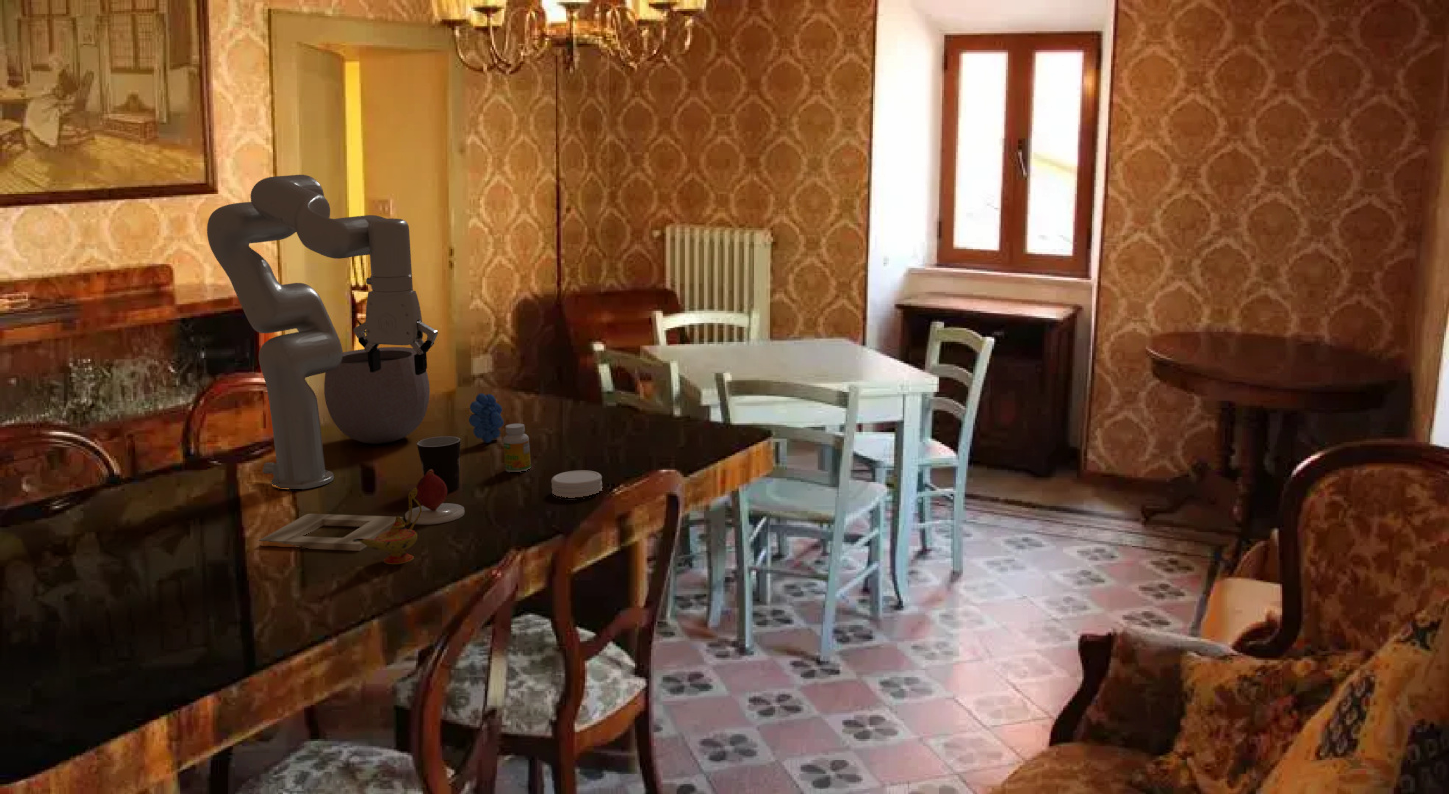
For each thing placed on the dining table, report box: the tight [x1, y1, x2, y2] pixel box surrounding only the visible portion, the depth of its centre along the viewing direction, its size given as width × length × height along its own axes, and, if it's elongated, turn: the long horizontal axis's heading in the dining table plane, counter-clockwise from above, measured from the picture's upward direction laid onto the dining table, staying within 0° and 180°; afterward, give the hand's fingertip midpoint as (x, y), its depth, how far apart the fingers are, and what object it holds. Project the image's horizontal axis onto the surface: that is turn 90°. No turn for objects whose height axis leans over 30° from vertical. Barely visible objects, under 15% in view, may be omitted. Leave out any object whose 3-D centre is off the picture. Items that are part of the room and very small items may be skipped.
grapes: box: [468, 393, 505, 444], centre depth 304 cm, size 12×7×12 cm, turn 154°
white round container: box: [550, 469, 603, 498], centre depth 261 cm, size 10×10×4 cm
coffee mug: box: [416, 435, 461, 494], centre depth 268 cm, size 12×9×10 cm
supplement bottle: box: [502, 423, 532, 473], centre depth 279 cm, size 5×5×10 cm
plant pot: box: [323, 320, 431, 445], centre depth 309 cm, size 24×24×30 cm
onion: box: [415, 470, 448, 511], centre depth 249 cm, size 6×6×8 cm
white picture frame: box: [258, 513, 404, 552], centre depth 241 cm, size 20×16×1 cm
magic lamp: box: [353, 487, 422, 565], centre depth 223 cm, size 7×18×11 cm, turn 156°
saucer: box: [404, 502, 465, 526], centre depth 250 cm, size 11×11×1 cm
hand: (398, 372), depth 254 cm, fingers open, 9 cm apart
